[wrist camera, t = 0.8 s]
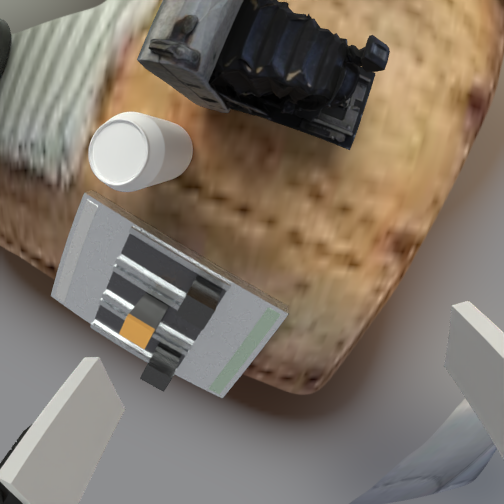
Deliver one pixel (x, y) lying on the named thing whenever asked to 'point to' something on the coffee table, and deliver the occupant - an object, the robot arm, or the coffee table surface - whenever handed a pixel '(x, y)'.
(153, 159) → the beverage can
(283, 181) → the coffee table surface
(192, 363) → the breaker panel
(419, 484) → the coffee table surface
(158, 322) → the breaker
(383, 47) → the vintage camera
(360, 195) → the coffee table surface
